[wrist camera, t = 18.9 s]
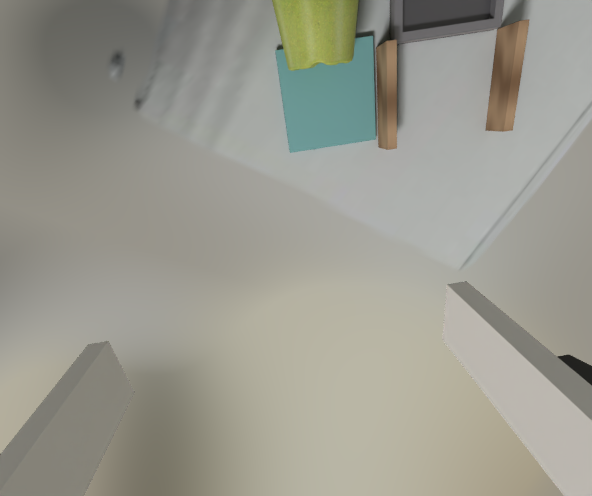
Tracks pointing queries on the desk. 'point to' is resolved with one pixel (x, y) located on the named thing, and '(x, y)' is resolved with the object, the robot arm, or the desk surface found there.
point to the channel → (501, 91)
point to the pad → (329, 100)
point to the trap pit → (442, 18)
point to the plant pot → (316, 31)
